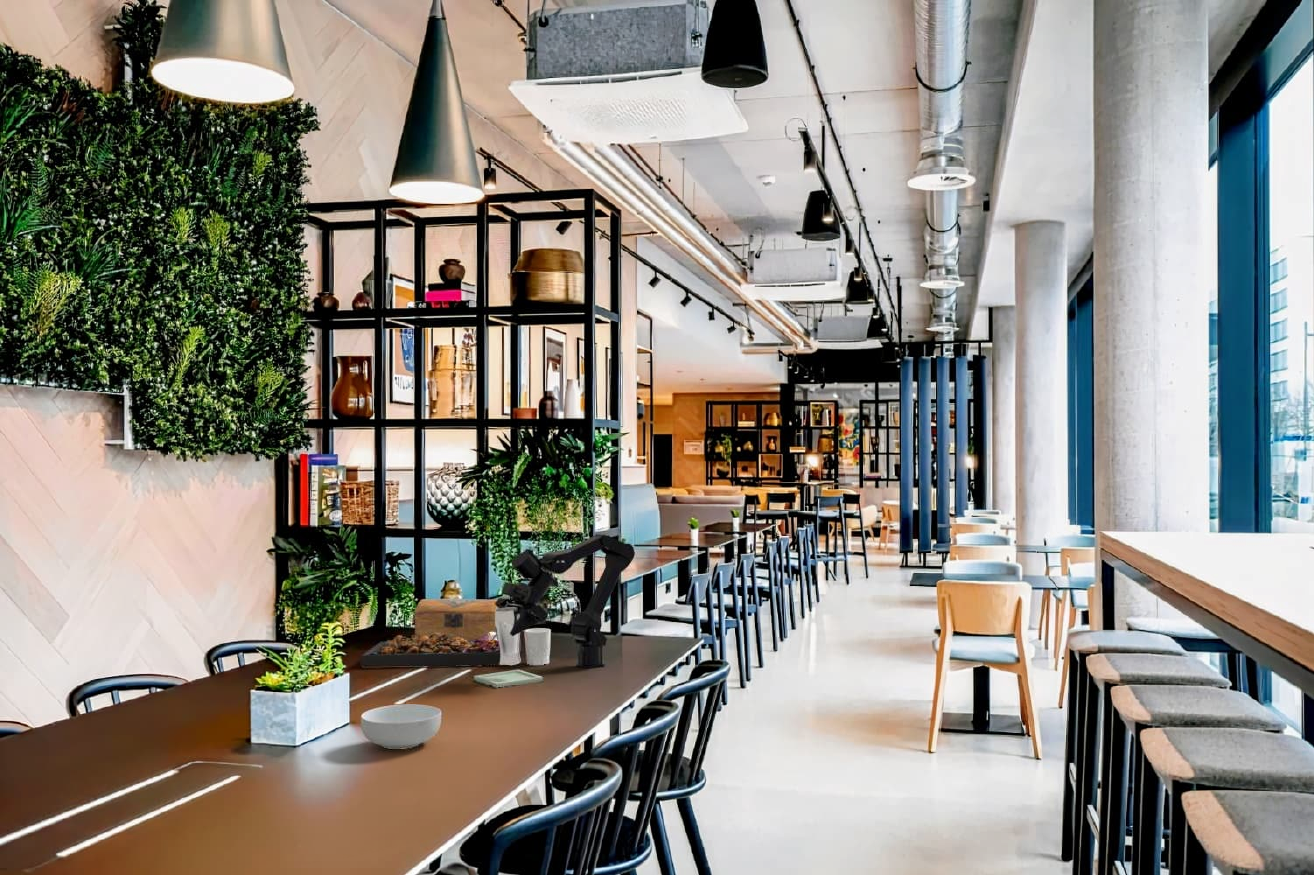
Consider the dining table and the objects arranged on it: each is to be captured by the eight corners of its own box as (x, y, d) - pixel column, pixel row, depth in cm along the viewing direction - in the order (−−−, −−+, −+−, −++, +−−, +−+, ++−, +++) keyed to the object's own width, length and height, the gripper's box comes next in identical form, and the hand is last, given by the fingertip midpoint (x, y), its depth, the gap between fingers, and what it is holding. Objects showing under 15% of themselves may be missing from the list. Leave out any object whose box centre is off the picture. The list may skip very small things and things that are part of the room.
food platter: (521, 652, 345) (520, 620, 345) (511, 667, 321) (511, 632, 321) (380, 655, 344) (380, 623, 345) (360, 670, 320) (360, 636, 320)
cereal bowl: (370, 760, 220) (370, 725, 220) (353, 742, 235) (353, 709, 235) (451, 749, 228) (450, 715, 228) (429, 732, 243) (429, 700, 243)
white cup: (553, 661, 326) (552, 628, 327) (548, 666, 318) (547, 632, 319) (528, 661, 327) (527, 628, 327) (522, 666, 319) (521, 632, 319)
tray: (518, 673, 308) (518, 669, 308) (542, 681, 296) (542, 676, 296) (474, 680, 300) (474, 675, 300) (497, 688, 288) (497, 683, 288)
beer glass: (505, 659, 303) (502, 606, 302) (527, 660, 300) (523, 607, 300) (492, 665, 296) (489, 611, 296) (514, 666, 294) (511, 611, 293)
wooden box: (412, 643, 365) (411, 602, 365) (431, 635, 381) (430, 596, 382) (496, 644, 360) (495, 603, 360) (512, 636, 376) (511, 596, 376)
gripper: (499, 569, 308) (467, 612, 300) (538, 573, 294) (505, 619, 286) (523, 593, 313) (492, 637, 305) (561, 599, 299) (530, 644, 292)
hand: (504, 633), depth 297 cm, fingers closed on beer glass, 7 cm apart
